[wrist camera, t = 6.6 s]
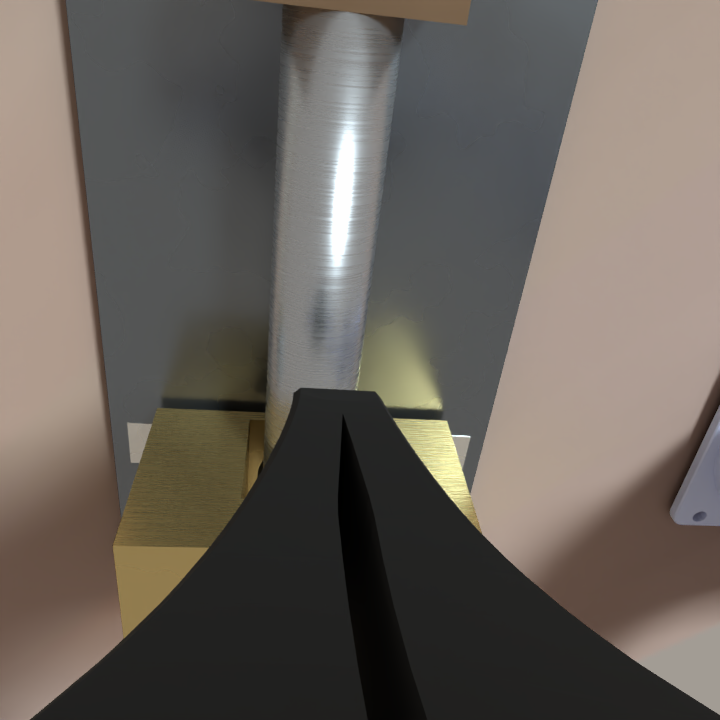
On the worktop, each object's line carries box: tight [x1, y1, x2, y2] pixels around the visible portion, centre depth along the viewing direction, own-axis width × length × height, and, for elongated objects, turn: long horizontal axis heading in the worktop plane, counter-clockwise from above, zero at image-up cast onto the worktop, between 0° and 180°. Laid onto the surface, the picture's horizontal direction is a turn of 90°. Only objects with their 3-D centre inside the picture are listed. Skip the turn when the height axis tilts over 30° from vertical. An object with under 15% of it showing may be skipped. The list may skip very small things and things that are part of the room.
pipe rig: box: [66, 0, 598, 519], centre depth 18 cm, size 12×22×4 cm, turn 174°
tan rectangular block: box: [113, 408, 482, 638], centre depth 19 cm, size 9×4×6 cm, turn 84°
